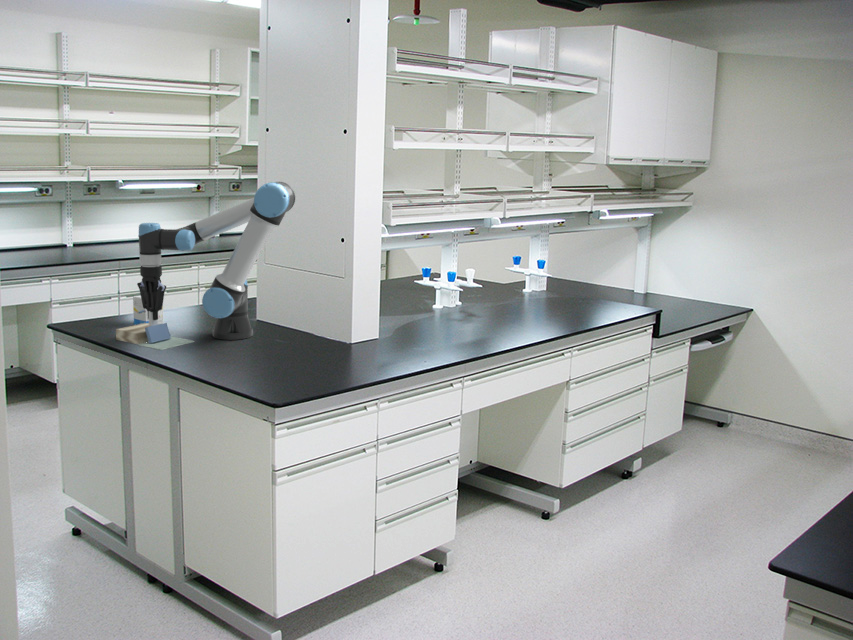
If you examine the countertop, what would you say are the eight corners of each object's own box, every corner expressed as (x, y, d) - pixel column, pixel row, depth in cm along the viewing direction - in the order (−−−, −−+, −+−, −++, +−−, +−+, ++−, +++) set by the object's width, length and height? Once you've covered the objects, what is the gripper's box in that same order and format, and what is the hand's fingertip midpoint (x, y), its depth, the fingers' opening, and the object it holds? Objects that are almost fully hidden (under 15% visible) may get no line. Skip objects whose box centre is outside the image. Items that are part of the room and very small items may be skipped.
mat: (194, 341, 302) (194, 341, 302) (161, 350, 289) (161, 349, 289) (171, 337, 308) (171, 336, 308) (138, 345, 294) (138, 344, 294)
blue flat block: (168, 339, 304) (171, 338, 303) (149, 343, 296) (152, 342, 295) (163, 323, 304) (166, 322, 303) (144, 327, 296) (147, 326, 295)
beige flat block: (168, 337, 308) (167, 327, 307) (138, 344, 296) (137, 333, 295) (146, 332, 314) (145, 322, 313) (116, 339, 302) (115, 329, 301)
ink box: (145, 327, 322) (144, 298, 320) (133, 324, 327) (132, 296, 325) (164, 324, 329) (163, 296, 327) (151, 321, 334) (150, 293, 332)
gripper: (171, 266, 296) (173, 328, 301) (146, 262, 302) (149, 324, 307) (155, 268, 289) (157, 332, 294) (130, 264, 296) (133, 327, 301)
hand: (153, 328), depth 301 cm, fingers closed
